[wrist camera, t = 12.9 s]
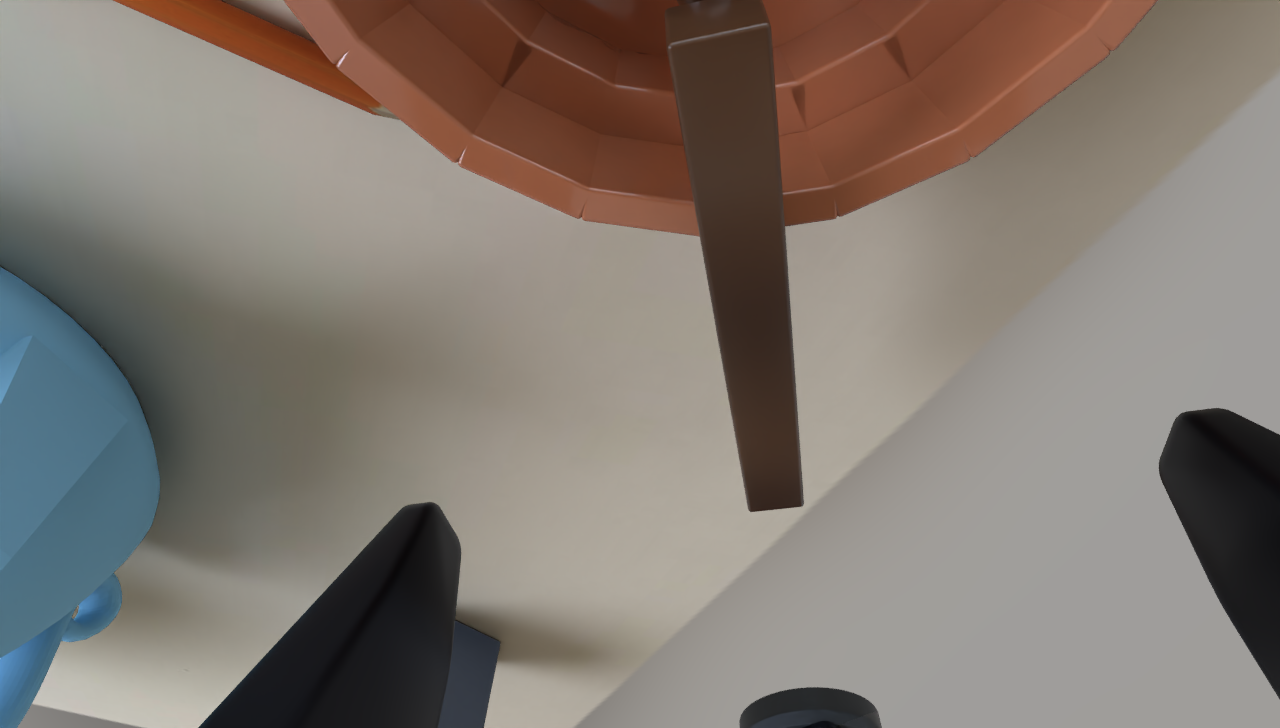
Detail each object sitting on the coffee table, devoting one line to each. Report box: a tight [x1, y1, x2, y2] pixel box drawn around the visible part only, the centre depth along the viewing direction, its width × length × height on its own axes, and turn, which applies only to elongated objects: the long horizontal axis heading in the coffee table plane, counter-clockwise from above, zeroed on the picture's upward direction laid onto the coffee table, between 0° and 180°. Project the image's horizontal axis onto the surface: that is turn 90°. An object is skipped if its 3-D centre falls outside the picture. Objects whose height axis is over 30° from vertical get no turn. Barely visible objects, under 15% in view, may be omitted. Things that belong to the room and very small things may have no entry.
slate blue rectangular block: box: [438, 620, 501, 728], centre depth 27 cm, size 4×2×5 cm, turn 46°
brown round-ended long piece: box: [665, 0, 804, 512], centre depth 12 cm, size 14×4×7 cm, turn 12°
